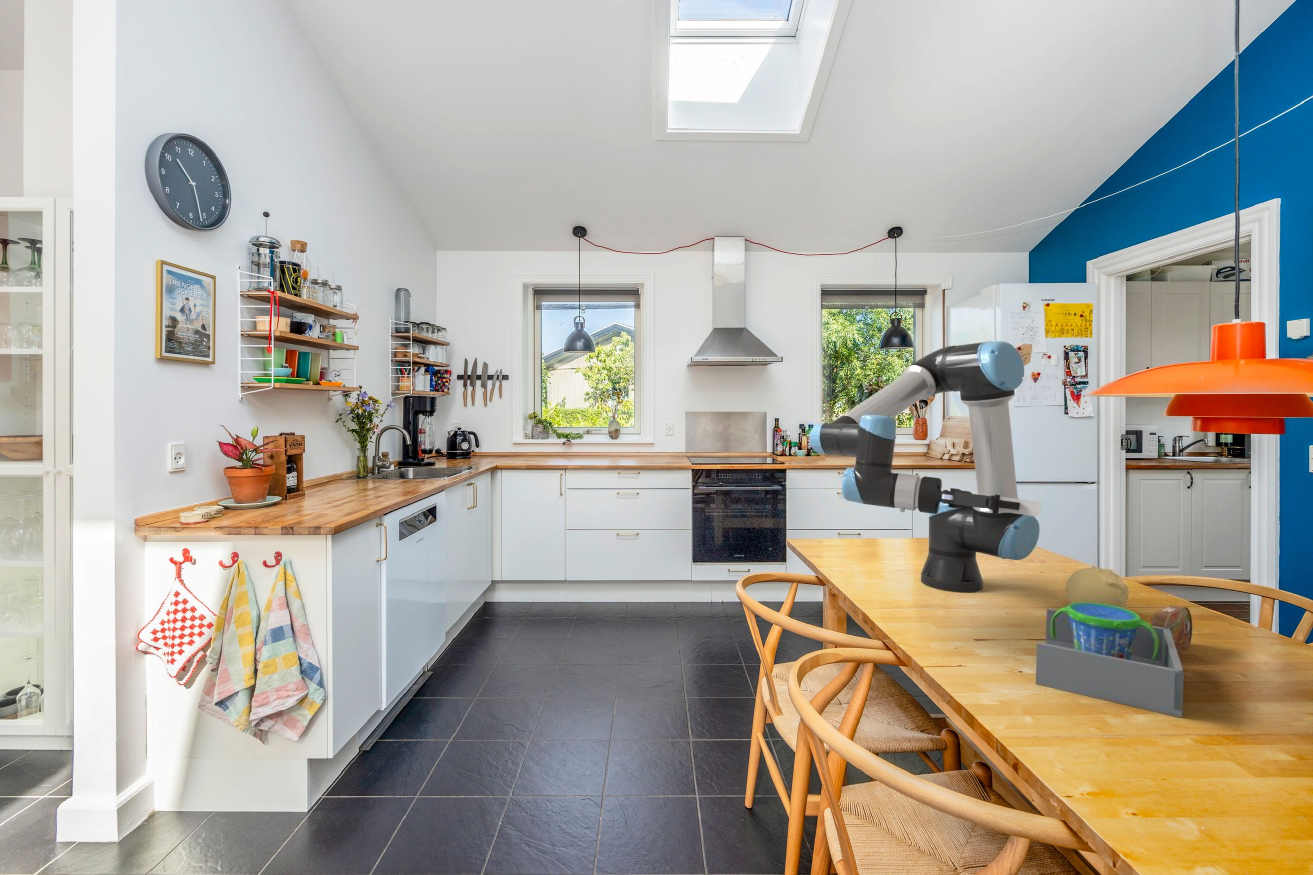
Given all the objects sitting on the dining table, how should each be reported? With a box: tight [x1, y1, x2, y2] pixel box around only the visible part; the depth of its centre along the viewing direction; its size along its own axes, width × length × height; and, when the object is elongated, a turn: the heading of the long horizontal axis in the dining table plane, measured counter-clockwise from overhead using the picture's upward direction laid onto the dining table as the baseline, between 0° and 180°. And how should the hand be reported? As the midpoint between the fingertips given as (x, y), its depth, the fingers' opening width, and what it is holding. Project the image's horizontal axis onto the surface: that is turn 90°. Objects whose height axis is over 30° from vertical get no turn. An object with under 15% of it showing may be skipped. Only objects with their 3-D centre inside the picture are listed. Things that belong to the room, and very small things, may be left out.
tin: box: [1150, 605, 1193, 655], centre depth 119 cm, size 15×3×8 cm, turn 123°
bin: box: [1035, 607, 1185, 718], centre depth 107 cm, size 24×19×7 cm
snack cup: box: [1051, 602, 1159, 660], centre depth 108 cm, size 16×10×10 cm
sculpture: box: [1065, 565, 1130, 609], centre depth 142 cm, size 12×12×11 cm
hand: (1038, 509), depth 115 cm, fingers open, 13 cm apart
